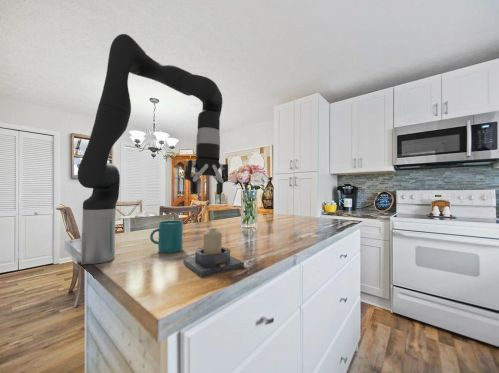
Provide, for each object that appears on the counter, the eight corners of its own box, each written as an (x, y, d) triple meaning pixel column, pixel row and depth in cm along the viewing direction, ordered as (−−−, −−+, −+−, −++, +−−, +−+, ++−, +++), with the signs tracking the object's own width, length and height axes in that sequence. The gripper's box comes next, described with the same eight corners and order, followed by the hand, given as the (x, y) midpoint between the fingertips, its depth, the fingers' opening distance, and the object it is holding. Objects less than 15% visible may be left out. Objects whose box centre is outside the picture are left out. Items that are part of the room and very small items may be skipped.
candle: (217, 263, 66) (218, 230, 66) (200, 262, 67) (201, 229, 67) (223, 258, 71) (223, 227, 71) (207, 257, 72) (207, 227, 72)
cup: (150, 249, 88) (150, 221, 88) (181, 246, 92) (181, 220, 93) (149, 255, 79) (150, 224, 80) (183, 252, 84) (184, 222, 84)
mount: (201, 277, 59) (201, 260, 59) (183, 263, 71) (183, 249, 71) (243, 267, 67) (243, 252, 68) (221, 256, 79) (221, 243, 79)
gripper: (222, 149, 78) (220, 194, 78) (182, 143, 70) (181, 193, 70) (233, 145, 72) (231, 194, 72) (191, 138, 64) (189, 194, 63)
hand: (206, 194), depth 71 cm, fingers open, 8 cm apart
